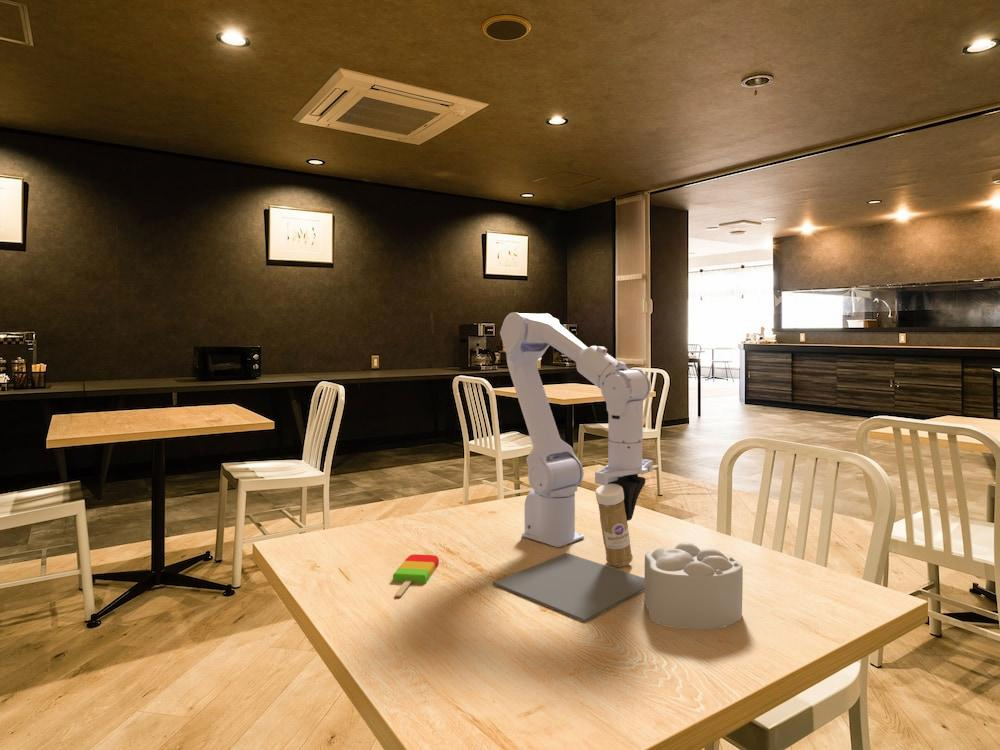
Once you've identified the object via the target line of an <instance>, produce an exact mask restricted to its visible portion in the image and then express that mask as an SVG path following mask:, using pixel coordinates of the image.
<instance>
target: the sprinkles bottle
mask: <svg viewBox="0 0 1000 750" xmlns="http://www.w3.org/2000/svg"><path fill="white" fill-rule="evenodd" d="M595 500H596V502H597V505H598V511H599V521H600V527H601V528H600V529H601V534H602V540H603V545H604V549H605V555H606V556H605V557H606V558H605V560H606V562H607V564H608V565H610V566H613V567H623V566H627V565H629V564H630V563H631V562H632V561H633V558H634V557H633V554H632V549H631V539H630V531H629V525H628V521H627V517H626V513H625V506H624V492H623V488H622V487H621V486H620V485H618V484H608V485H600V486H598V487H597V488H596V489H595Z"/></svg>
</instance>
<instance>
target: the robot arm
mask: <svg viewBox="0 0 1000 750" xmlns="http://www.w3.org/2000/svg"><path fill="white" fill-rule="evenodd" d="M499 336H500V337H501V341H502V344H503V347H504V348H503V349H504V351H505V354H506V355H505V356H506V363H507V368H508V371H509V374H510V379H511V381H512V384H513V387H514V390H515V393H516V398H517V399H518V403H519V406H520V409H521V413H522V415H523V419H524V421H525V425H526V428H527V431H528V435H529V438H530V440H531V441H530V442H531V444H532V447H533V448H532V449H531V450H530V453H529V454H528V455H527V457H526V459H525V460H526V464H527V468H528V469H527V471H528V472H527V474H528V475H527V477H528V478H527V479H528V482H529V486H530V487H531V490H530V491H529V492H528V493H527V494H526V497H525V500H524V532H522V533H521V536H522V537H525V538H527V539H530V540H533V541H537V542H539V543H543V544H547V545H549V546H552V547H556V548H561V547H563V546H566V545H568V544H572V543H574V542H577V541H580V540H582V539H585V535H584V534H582V533H578V532H576V528H575V526H576V525H575V524H576V521H575V520H576V519H575V518H576V517H575V516H576V515H575V514H576V500H575V499H576V497H575V496H576V492H577V491H578V486H579V485H580V484H581V483H582V481H583V479H584V467H583V464H582V462H581V460H580V459H579V458H578V456H576V454H575V452H574V448H573V447H572V446H571V445H570V444H569V443H567V442H566V441H564V440H563V439H562V438H561V436H560V433H559V430H558V427H557V425H556V421H555V417H554V416H553V411H552V409H551V406H550V403H549V399H548V396H547V393H546V391H545V387H544V385H543V381H542V379H541V376H540V372H539V370H538V367H537V364H538V361H539V359H540V358H542V357H543V356H544V354H545V353H546V351H547V349H548V348H549V347H552V348H554V349H555V350H557V351H558V352H560V353H562V354H563V355H564V356H566V357H567V358H569V359H571V360H572V361H573V362H575V365H576V371H577V372H578V373H579V374H580V375H581V376H582V377H584V378H586V380H587V381H589V382H591V383H592V384H593V385H595V387H598V389H600V392H601V395H602V397H603V400H604V401H605V403H606V411H607V414H608V424H607V425H608V426H607V427H608V428H607V429H608V434H607V435H608V436H607V437H608V441H607V446H608V449H607V452H608V454H607V465H605V466H603V468H601V469H599V470H598V471H595V472H594V484H595V485H600V486H602V485H608V484H618V485H620V486H621V487H622V488H623V492H624V506H625V513H626V517H627V522H628V521H631V520H632V518H633V517H634V512H635V508H636V505H637V501H638V498H639V496H640V493H641V491H642V489H643V487H644V486H645V484H646V478H645V477H643V476H639V475H644V474H645V475H646V474H648V473H651V472H653V470H654V469H653V468H654V467H653V464H654V461H653V460H652V459H645V458H643V437H644V435H643V433H644V431H643V430H644V428H643V426H644V425H643V424H644V423H643V422H644V401H645V400H646V399H647V398H648V396H649V394H650V392H651V391H650V390H651V383H650V379H649V377H648V376H647V374H646V373H644V372H643V370H642V369H640V368H628V367H627V363H625V362H624V361H620V360H617V358H614V357H613V356H612V355H610V354H609V353H608V352H607V351H608V348H606V347H605V346H604V345H603V346H600V345H599V346H598V345H591V346H587V345H586V344H585V343H583V342H582V340H580V339H579V338H577V337H576V336H575V335H574V334H573V333H572V332H571V331H569V330H568V329H567V328H565V327H564V326H563V325H562V324H561V323H560V319H558V318H556V317H553V315H551V314H550V313H547V312H546V313H545V312H544V313H524V312H523V313H519V312H517V311H516V312H515V311H514V312H510V313H509V314H507V315H506V317H505V318H504V320H503V323H502V325H501V328H500V331H499Z"/></svg>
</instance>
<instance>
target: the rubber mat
mask: <svg viewBox="0 0 1000 750" xmlns="http://www.w3.org/2000/svg"><path fill="white" fill-rule="evenodd" d="M644 581H645V577H643V576H639V575H636V574H633V573H630V572H628V571H624V570H620V569H619V568H618V569H617V568H614V567H611V566H607V565H605V564H602V563H599V562H595V561H592V560H590V559H586V558H583V557H580V556H577V555H574V554H572V553H568V552H565V553H561V554H559V555H556V556H554V557H552V558H549V559H547V560H545V561H541V562H539V563H537V564H535V565H532V566H529V567H527V568H525V569H522V570H519V571H516V572H515V573H512V574H510V575H509V574H508V575H506V576H504V577H502V578H499V579H496V580H494V581H492V585H494V586H497V587H499V588H501V589H503V590H504V591H508V592H510V593H513V594H515V595H518V596H520V597H523V598H525V599H527V600H530V601H532V602H534V603H537V604H540V605H542V606H544V607H547V608H549V609H552V610H554V611H557V612H559V613H561V614H562V615H563V614H564V615H566V616H569V617H570V618H573V619H576V620H579V621H581V622H582V623H586V622H588V621H590V620H592V619H593V618H596V617H597V616H599V615H601V614H604V613H605V612H607V611H609V610H610V609H612V608H613V607H616V606H617V605H620V604H621V603H623V602H625V601H626V600H629V599H630V598H632V597H634V596H636V595H638V594H640V593H642V592H644Z"/></svg>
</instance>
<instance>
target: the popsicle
mask: <svg viewBox="0 0 1000 750" xmlns="http://www.w3.org/2000/svg"><path fill="white" fill-rule="evenodd" d="M439 564H440V563H439V557H438V556H437V555H434V554H417V553H415V554H410V555H408V556H407V558H406V559H405V560H404V561H403V562H402V563H401V564H400V566H399V567H398V568H397V569H396V570H395V572H394V573H393V575H392V582H393V583H402V585H401V586H400V587H399V588H398V590H397V591H396V592H395V594H394V597H395V598H400V597H402V596H403V595H404V593H405V592H406V590H407V589H408V588H409V587H410V585H411V584H423V585H424V584H427V582H428V581H429V580H430V579H431V577H432V575H433V574H434V572H435V571H436V569H437V568H438V567H439Z"/></svg>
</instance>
